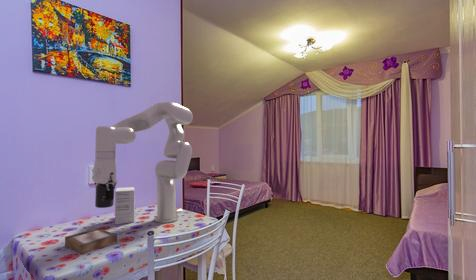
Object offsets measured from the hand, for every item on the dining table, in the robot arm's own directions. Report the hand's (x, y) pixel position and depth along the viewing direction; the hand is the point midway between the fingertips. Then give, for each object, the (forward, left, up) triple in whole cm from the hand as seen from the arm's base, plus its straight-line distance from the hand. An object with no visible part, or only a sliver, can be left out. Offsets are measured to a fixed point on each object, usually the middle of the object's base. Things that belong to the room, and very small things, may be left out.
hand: (104, 198), depth 108 cm
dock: (+4, -3, -18) cm, 19 cm away
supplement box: (-21, -20, -19) cm, 34 cm away
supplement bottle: (0, 0, -3) cm, 3 cm away
